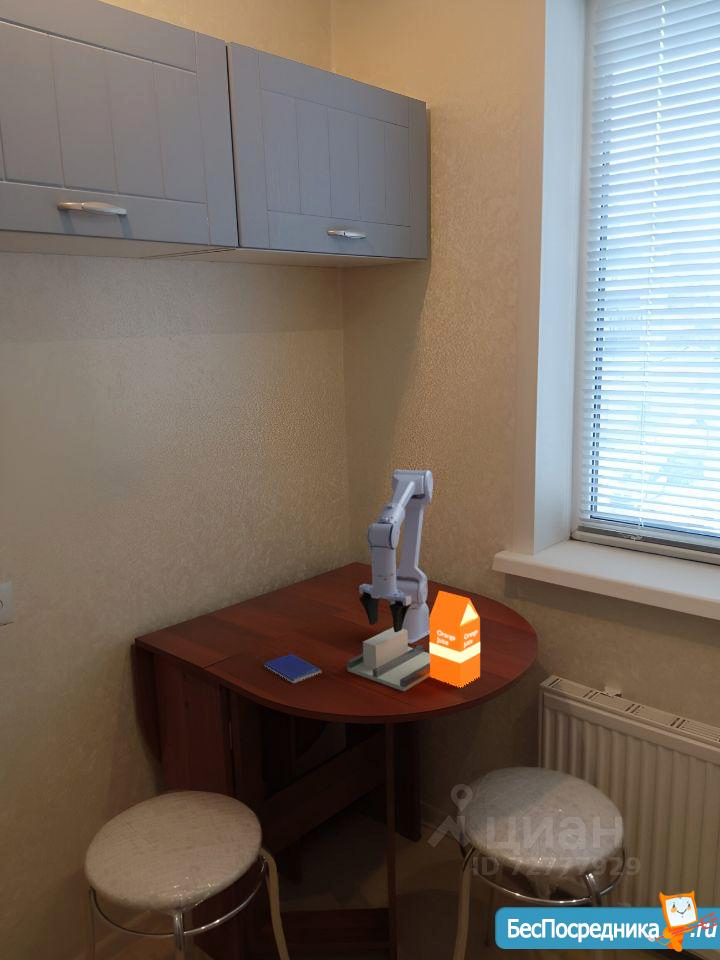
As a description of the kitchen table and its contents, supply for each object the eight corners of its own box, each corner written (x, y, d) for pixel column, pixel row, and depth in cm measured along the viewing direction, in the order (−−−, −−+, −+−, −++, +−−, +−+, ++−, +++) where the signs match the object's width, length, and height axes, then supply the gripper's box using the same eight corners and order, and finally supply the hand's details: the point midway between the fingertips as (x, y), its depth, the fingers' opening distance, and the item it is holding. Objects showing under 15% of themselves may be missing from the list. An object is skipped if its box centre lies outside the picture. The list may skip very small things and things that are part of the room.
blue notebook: (321, 668, 179) (291, 653, 189) (292, 679, 174) (263, 662, 184) (321, 674, 179) (292, 659, 189) (293, 685, 174) (264, 668, 184)
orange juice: (450, 665, 181) (449, 586, 177) (480, 676, 175) (480, 594, 171) (429, 677, 175) (428, 595, 171) (460, 688, 169) (459, 603, 165)
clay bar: (395, 649, 189) (394, 626, 188) (408, 653, 186) (407, 630, 185) (363, 665, 180) (362, 641, 179) (376, 670, 178) (375, 646, 176)
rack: (395, 646, 193) (395, 637, 192) (450, 664, 182) (450, 654, 181) (347, 670, 180) (347, 661, 179) (404, 691, 169) (404, 681, 168)
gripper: (350, 571, 181) (352, 625, 183) (397, 583, 171) (398, 639, 174) (369, 564, 186) (371, 616, 189) (416, 575, 176) (417, 630, 179)
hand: (385, 627), depth 182 cm, fingers open, 7 cm apart
